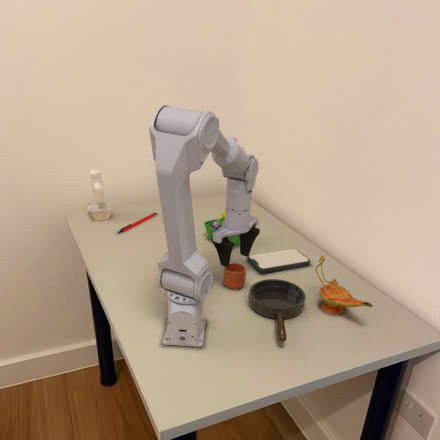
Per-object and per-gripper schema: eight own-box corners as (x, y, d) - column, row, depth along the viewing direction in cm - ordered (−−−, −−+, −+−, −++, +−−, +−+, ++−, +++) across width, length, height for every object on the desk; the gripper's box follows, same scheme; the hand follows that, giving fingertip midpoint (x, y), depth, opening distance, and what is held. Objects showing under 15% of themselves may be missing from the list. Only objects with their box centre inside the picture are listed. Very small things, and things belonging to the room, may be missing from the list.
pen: (117, 233, 134) (117, 230, 133) (155, 213, 148) (155, 210, 147) (119, 234, 133) (119, 230, 133) (157, 214, 148) (157, 211, 147)
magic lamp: (353, 336, 94) (364, 293, 88) (300, 296, 107) (307, 255, 101) (376, 328, 97) (388, 285, 91) (322, 289, 110) (329, 250, 104)
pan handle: (274, 313, 98) (275, 307, 97) (282, 314, 98) (283, 307, 97) (277, 343, 89) (278, 337, 88) (286, 344, 89) (287, 337, 88)
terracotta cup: (244, 290, 108) (246, 273, 106) (222, 289, 108) (223, 272, 106) (244, 280, 113) (246, 263, 110) (223, 278, 113) (224, 262, 110)
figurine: (91, 224, 139) (85, 177, 131) (87, 213, 146) (81, 167, 138) (114, 221, 141) (110, 175, 133) (109, 210, 148) (104, 166, 140)
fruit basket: (202, 237, 133) (202, 202, 127) (225, 231, 138) (226, 196, 132) (225, 252, 126) (227, 214, 120) (248, 244, 130) (251, 208, 124)
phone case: (294, 252, 128) (245, 260, 122) (294, 247, 127) (245, 255, 121) (311, 266, 121) (260, 275, 115) (312, 261, 120) (261, 269, 114)
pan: (306, 322, 98) (308, 310, 96) (249, 318, 98) (250, 306, 97) (300, 291, 109) (301, 280, 107) (248, 288, 109) (249, 277, 107)
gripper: (244, 195, 107) (240, 245, 114) (203, 210, 97) (202, 264, 105) (267, 202, 103) (262, 254, 110) (227, 219, 94) (224, 275, 101)
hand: (234, 260), depth 107 cm, fingers open, 7 cm apart
